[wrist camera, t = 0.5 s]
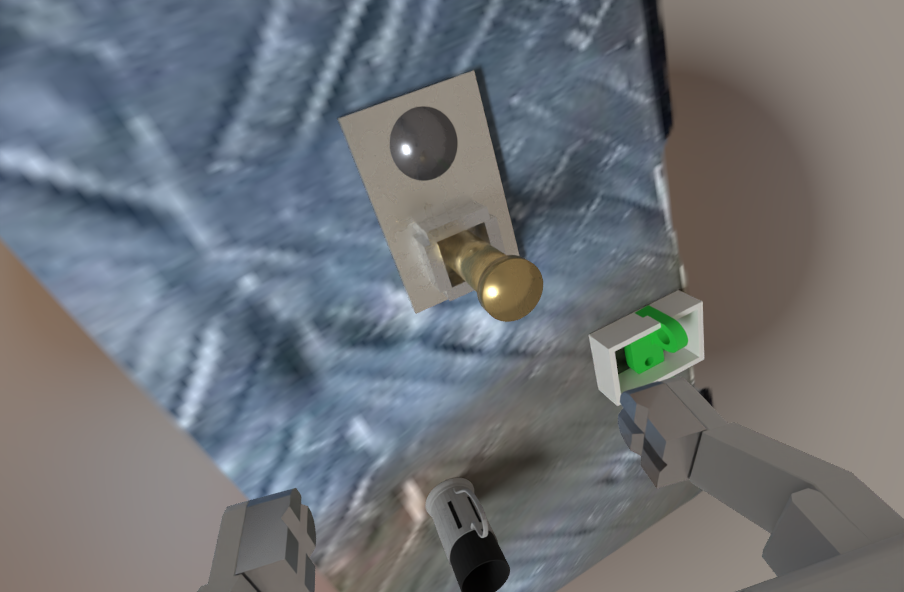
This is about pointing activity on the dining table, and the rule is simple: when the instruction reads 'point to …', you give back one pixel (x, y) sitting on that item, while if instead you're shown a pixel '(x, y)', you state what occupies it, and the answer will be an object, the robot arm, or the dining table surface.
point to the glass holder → (467, 536)
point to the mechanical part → (655, 341)
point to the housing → (430, 181)
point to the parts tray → (637, 327)
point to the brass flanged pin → (494, 275)
